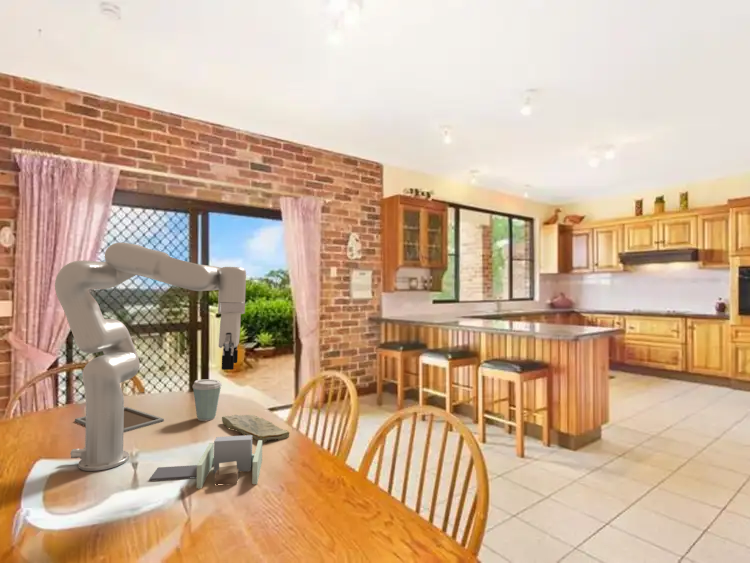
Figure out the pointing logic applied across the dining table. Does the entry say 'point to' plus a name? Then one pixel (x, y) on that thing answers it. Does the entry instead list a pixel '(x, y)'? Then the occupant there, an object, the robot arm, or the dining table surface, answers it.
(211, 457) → the rack
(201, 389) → the disposable coffee cup
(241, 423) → the stone slab
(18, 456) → the dining table surface
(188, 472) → the panel
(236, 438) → the tall grey upright block
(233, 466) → the offcut
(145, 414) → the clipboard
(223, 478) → the offcut
